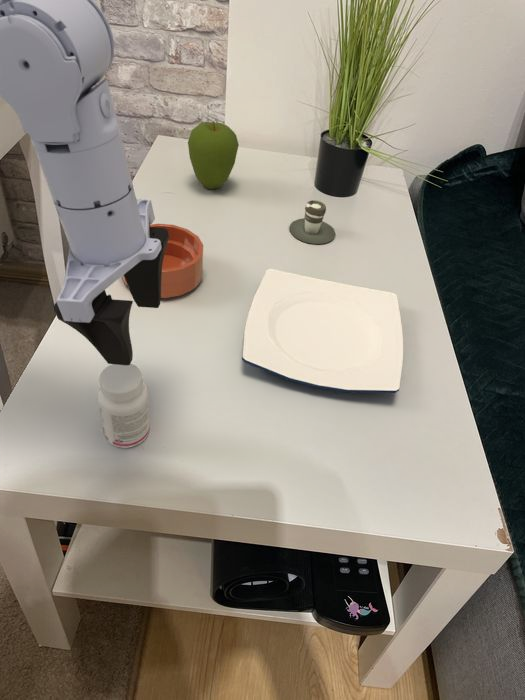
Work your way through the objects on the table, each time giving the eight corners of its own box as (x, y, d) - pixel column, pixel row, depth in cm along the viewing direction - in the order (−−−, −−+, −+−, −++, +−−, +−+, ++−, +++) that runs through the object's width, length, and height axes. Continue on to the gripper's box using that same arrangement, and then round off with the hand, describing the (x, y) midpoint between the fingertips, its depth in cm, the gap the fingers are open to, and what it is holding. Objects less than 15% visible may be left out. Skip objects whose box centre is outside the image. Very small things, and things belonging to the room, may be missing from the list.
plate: (400, 413, 61) (407, 398, 60) (230, 378, 62) (232, 363, 60) (397, 305, 76) (403, 290, 74) (260, 278, 77) (262, 263, 75)
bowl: (115, 298, 70) (112, 268, 66) (128, 250, 78) (125, 220, 74) (199, 303, 71) (201, 274, 68) (203, 255, 79) (204, 227, 76)
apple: (206, 203, 90) (209, 137, 82) (177, 182, 94) (177, 117, 86) (244, 190, 94) (250, 127, 86) (215, 171, 98) (219, 108, 90)
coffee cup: (359, 245, 86) (367, 218, 83) (296, 257, 82) (301, 229, 78) (323, 207, 93) (328, 182, 90) (263, 217, 89) (266, 190, 85)
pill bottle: (159, 426, 56) (157, 373, 50) (129, 457, 53) (123, 404, 47) (124, 405, 58) (118, 352, 52) (93, 434, 55) (83, 381, 49)
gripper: (106, 248, 32) (151, 396, 41) (175, 150, 42) (199, 286, 52) (2, 243, 33) (69, 388, 42) (94, 148, 43) (131, 282, 53)
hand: (135, 332), depth 47 cm, fingers open, 7 cm apart
